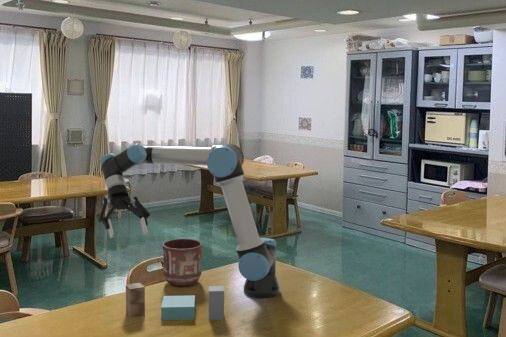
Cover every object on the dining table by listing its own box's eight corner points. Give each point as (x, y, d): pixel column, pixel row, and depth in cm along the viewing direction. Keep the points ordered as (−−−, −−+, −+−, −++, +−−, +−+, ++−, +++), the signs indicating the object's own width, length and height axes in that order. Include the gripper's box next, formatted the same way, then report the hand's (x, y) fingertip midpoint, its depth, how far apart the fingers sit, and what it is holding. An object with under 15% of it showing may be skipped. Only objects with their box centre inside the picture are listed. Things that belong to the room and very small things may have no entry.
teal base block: (194, 307, 208) (194, 295, 207) (194, 319, 196) (194, 306, 195) (163, 308, 206) (163, 295, 206) (161, 320, 195) (161, 307, 194)
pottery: (153, 284, 233) (153, 244, 231) (180, 274, 247) (181, 236, 245) (183, 293, 223) (183, 251, 221) (210, 282, 237) (210, 242, 235)
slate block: (223, 314, 201) (223, 285, 199) (223, 320, 195) (224, 290, 194) (208, 314, 200) (208, 286, 199) (208, 320, 195) (209, 291, 193)
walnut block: (140, 310, 203) (139, 282, 202) (144, 315, 198) (144, 286, 197) (126, 313, 200) (125, 284, 199) (130, 318, 196) (130, 289, 194)
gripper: (143, 192, 223) (156, 236, 213) (83, 195, 209) (94, 242, 199) (148, 182, 218) (162, 227, 208) (88, 184, 204) (99, 232, 194)
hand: (129, 234), depth 203 cm, fingers open, 13 cm apart
